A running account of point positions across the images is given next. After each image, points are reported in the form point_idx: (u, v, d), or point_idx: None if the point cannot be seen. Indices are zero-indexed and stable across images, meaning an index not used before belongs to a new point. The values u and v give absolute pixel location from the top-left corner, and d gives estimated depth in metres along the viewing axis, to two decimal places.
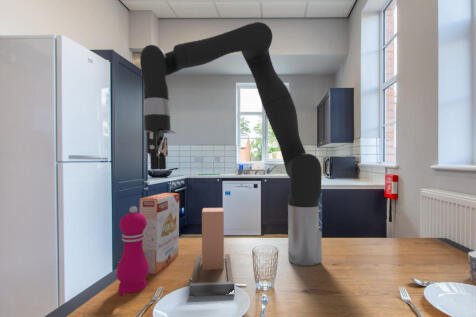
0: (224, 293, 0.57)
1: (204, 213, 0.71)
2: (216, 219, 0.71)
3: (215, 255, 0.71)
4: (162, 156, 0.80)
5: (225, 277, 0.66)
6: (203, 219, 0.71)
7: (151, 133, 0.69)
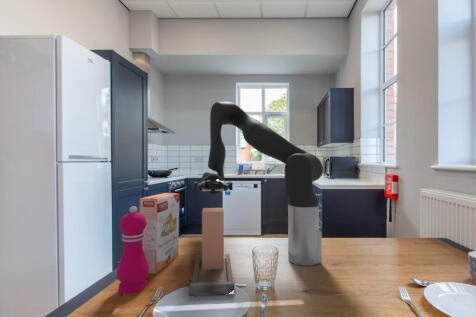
0: (224, 293, 0.57)
1: (204, 213, 0.71)
2: (216, 219, 0.71)
3: (215, 255, 0.71)
4: None
5: (225, 277, 0.66)
6: (203, 219, 0.71)
7: None
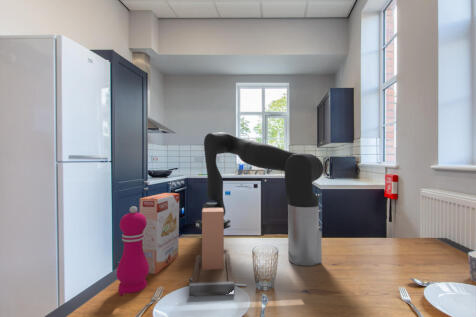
0: (224, 293, 0.57)
1: (204, 213, 0.71)
2: (216, 219, 0.71)
3: (215, 255, 0.71)
4: None
5: (225, 277, 0.66)
6: (203, 219, 0.71)
7: (196, 224, 0.91)
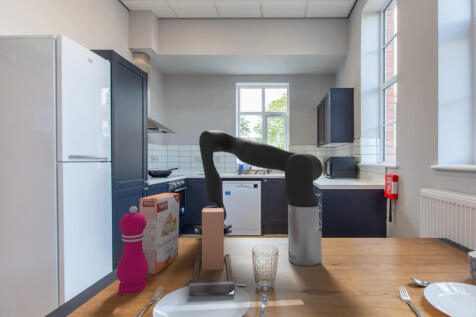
0: (224, 293, 0.57)
1: (204, 213, 0.70)
2: (216, 220, 0.71)
3: (215, 255, 0.70)
4: None
5: (225, 277, 0.66)
6: (203, 219, 0.70)
7: (195, 229, 0.84)
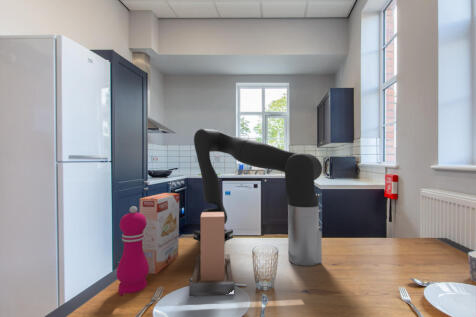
0: (224, 293, 0.57)
1: (203, 218, 0.64)
2: (216, 225, 0.64)
3: (215, 264, 0.64)
4: None
5: (225, 277, 0.66)
6: (202, 225, 0.64)
7: (193, 235, 0.78)
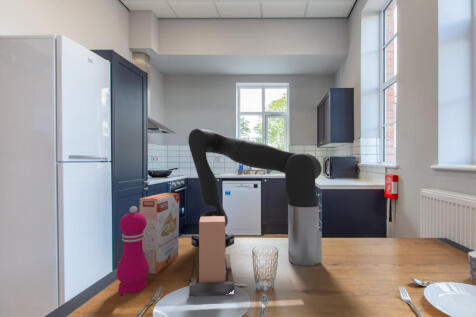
0: (224, 293, 0.57)
1: (202, 224, 0.59)
2: (216, 231, 0.59)
3: (215, 274, 0.59)
4: None
5: (225, 277, 0.66)
6: (200, 231, 0.58)
7: (191, 240, 0.72)
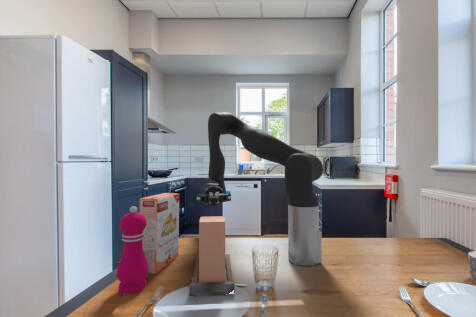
0: (224, 293, 0.57)
1: (202, 224, 0.58)
2: (216, 231, 0.59)
3: (215, 274, 0.59)
4: None
5: (225, 277, 0.66)
6: (200, 231, 0.58)
7: (197, 198, 0.91)
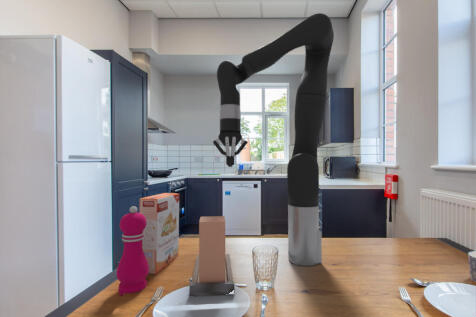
0: (224, 293, 0.57)
1: (202, 224, 0.58)
2: (216, 231, 0.59)
3: (215, 274, 0.59)
4: None
5: (225, 277, 0.66)
6: (200, 231, 0.58)
7: (213, 143, 0.91)
